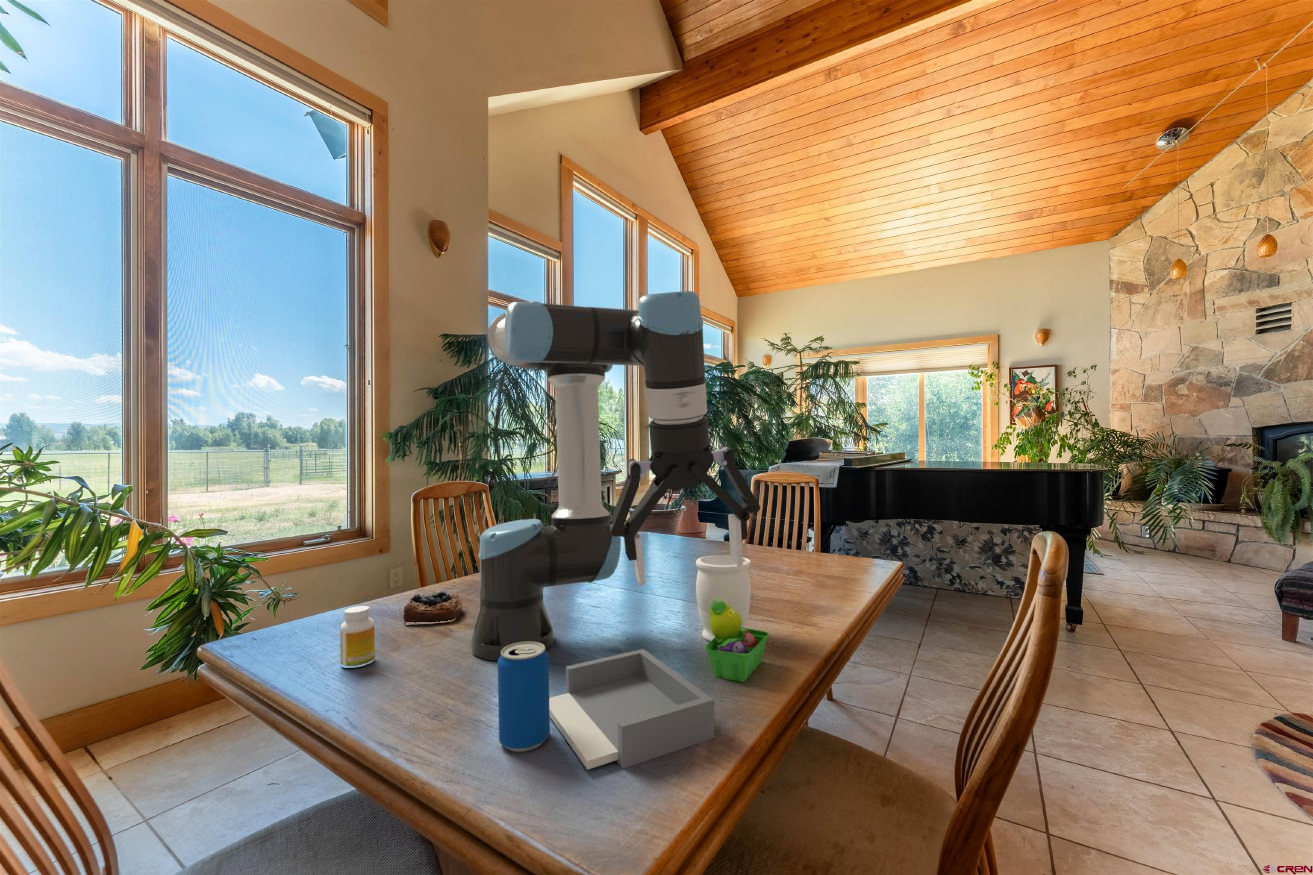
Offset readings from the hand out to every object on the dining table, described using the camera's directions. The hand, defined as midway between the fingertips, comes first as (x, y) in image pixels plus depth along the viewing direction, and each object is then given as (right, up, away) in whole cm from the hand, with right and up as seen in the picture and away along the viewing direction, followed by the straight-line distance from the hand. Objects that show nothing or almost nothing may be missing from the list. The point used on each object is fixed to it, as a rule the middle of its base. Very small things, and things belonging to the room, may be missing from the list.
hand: (689, 570), depth 75 cm
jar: (+9, -21, +33) cm, 40 cm away
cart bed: (-9, -21, +2) cm, 23 cm away
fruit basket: (+9, -21, +19) cm, 30 cm away
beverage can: (-22, -22, -3) cm, 31 cm away
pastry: (-54, -22, +48) cm, 76 cm away
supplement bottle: (-58, -22, +23) cm, 66 cm away
